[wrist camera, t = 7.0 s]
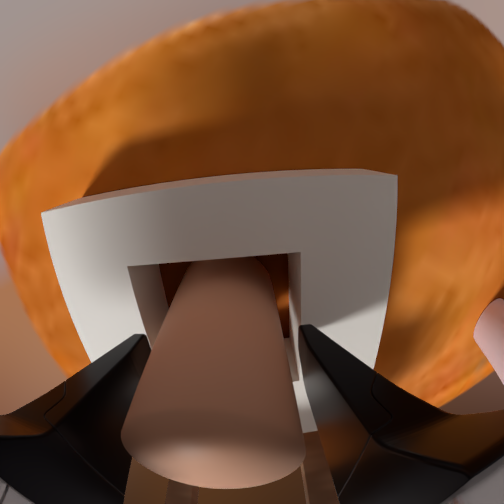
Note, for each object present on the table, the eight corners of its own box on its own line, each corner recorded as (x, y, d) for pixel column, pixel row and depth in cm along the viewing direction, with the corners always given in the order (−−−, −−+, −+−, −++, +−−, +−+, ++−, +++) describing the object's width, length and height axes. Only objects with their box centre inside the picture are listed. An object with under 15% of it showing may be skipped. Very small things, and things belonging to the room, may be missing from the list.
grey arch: (325, 398, 15) (360, 524, 7) (319, 431, 16) (343, 536, 8) (164, 406, 15) (137, 529, 7) (180, 438, 16) (164, 542, 8)
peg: (270, 244, 11) (313, 401, 4) (274, 325, 13) (300, 483, 5) (174, 252, 11) (89, 399, 4) (190, 330, 13) (155, 483, 5)
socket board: (361, 168, 10) (397, 175, 8) (343, 384, 14) (357, 422, 12) (81, 197, 10) (40, 212, 8) (144, 396, 14) (132, 433, 12)
